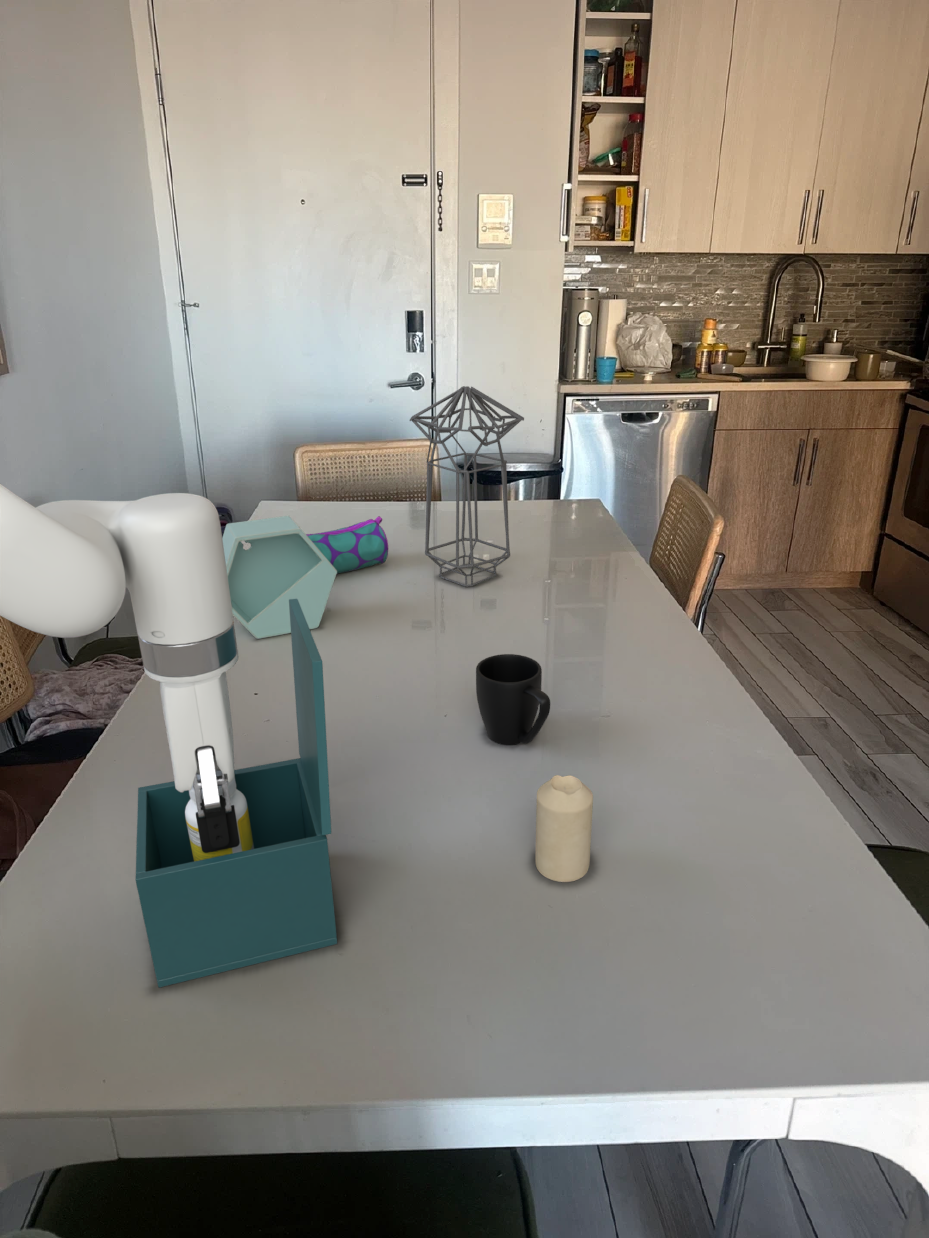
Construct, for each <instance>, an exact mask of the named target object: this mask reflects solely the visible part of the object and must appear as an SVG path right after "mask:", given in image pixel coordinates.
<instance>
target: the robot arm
mask: <svg viewBox="0 0 929 1238" xmlns="http://www.w3.org/2000/svg"><path fill="white" fill-rule="evenodd" d="M222 538H223V532H222V526H221V520H220V515H219V512H218V509H217V508H216V506H215V505H214V503H213V502H212V501H211V500H210V499H208V498H206V497H205V496H203V495H199V494H193V493H187V492H168V493H160V494H159V493H158V494H154V495H153V494H152V495H148V496H144V497H141V498H138V499H136V500H92V499H91V500H89V499H64V500H63V499H62V500H55V501H49V502H46V503H42V504H40V505H38V506H34V505H32V504H31V503H30V502H28V501H26V500H25V499H23V498H22V497H21V496H19V495H17V494H16V493H14V492H13V491H12V490H10V489H9V488H7V487H6V486H4V485H3V484H2V483H0V617H2V618H4V619H6V620H7V621H9V622H11V623H13V624H15V625H18V626H19V627H22V628H24V629H27V630H28V631H32V632H34V633H37V634H40V635H45V636H48V637H53V638H62V639H69V638H80V637H84V636H88V635H90V634H93V633H95V632H98V631H99V630H100V629H102V628H104V627H105V626H107V625H108V624H109V623H110V622H111V621H112V620H113V619H114V618H115V617H116V615H117V614H118V613H119V611H120V609H121V607H122V605H123V602H124V599H125V596H126V589H127V591H128V592H129V596H130V601H131V606H132V607H131V608H132V613H133V619H134V622H135V628H136V634H137V639H138V643H139V644H138V645H139V650H140V655H141V661H142V665H143V670H144V674H145V675H146V676H147V677H149V678H150V679H152V680H154V681H157V682H159V691H160V699H161V705H162V706H161V707H162V713H163V719H164V725H165V732H166V737H167V743H168V749H169V754H170V761H171V768H172V774H173V779H174V780H173V781H175V788H176V790H178V791H179V792H181V793H182V792H184V791H187V790H191V788H192V785H193V788H194V791H195V798H196V804H197V810H198V812H196V820H197V825H198V831H199V837H200V842H201V848H202V851H203V852H204V853H209V852H214V851H219V850H224V849H228V848H233V847H237V846H238V845H239V844H240V840H239V834H238V827H237V821H236V814H235V808H234V805H231V802H230V795H229V788H228V783H230V782H231V781H232V780H233V779H234V778H235V773H234V770H235V749H234V747H235V746H234V732H233V730H234V729H233V720H232V710H231V701H230V694H229V685H228V679H227V671H229V670H231V669H232V668H233V667H234V666H235V665H236V664H237V663H238V660H239V657H240V655H239V649H238V642H237V636H236V628H235V621H234V616H233V612H232V605H231V598H230V590H229V583H228V576H227V569H226V561H225V554H224V547H223V540H222ZM216 771H221V772H222V775H221V776H216ZM199 774H200V776H201V779H200V780H198V778H197V775H199ZM218 786H222V791H223V796H222V795H220V796H219V790H218ZM201 789H202V790H203V797H204V799H203V798H202V791H201Z"/></svg>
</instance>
